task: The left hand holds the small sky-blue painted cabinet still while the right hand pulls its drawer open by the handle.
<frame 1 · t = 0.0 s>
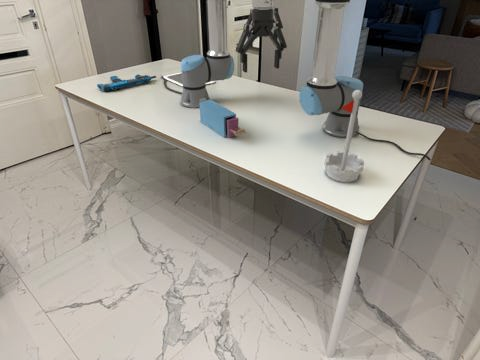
left hand: (260, 69, 131), 28 cm above the table, tool pointing down, fingers open, 13 cm apart
right hand: (263, 45, 167), 28 cm above the table, tool pointing down, fingers open, 13 cm apart
submachine gun: (126, 83, 208), on the table
cabinet: (217, 127, 153), on the table
flag stand: (341, 173, 120), on the table
drawer: (224, 122, 146), point 5 cm above the table, slide at 1.5 cm
tablet: (187, 80, 213), on the table
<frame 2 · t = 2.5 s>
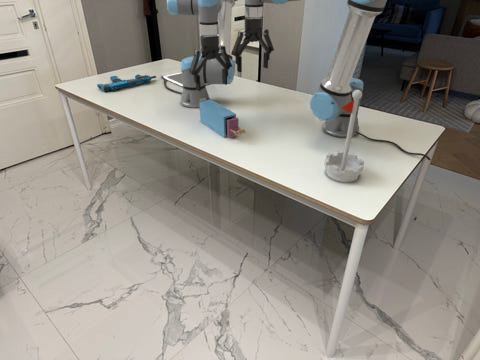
left hand: (211, 87, 148), 17 cm above the table, tool pointing down, fingers open, 13 cm apart
right hand: (252, 69, 152), 22 cm above the table, tool pointing down, fingers open, 13 cm apart
nothing on the table moved.
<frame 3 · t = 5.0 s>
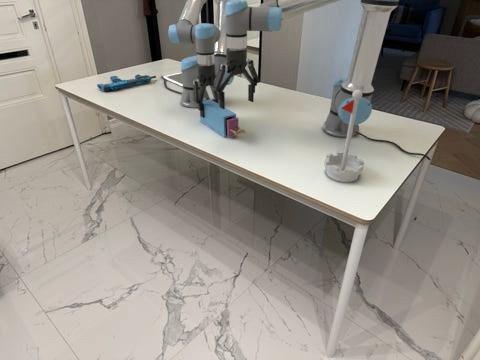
left hand: (209, 114, 156), 3 cm above the table, tool pointing down, fingers closed on cabinet, 6 cm apart
right hand: (236, 104, 134), 15 cm above the table, tool pointing down, fingers open, 13 cm apart
cabinet: (217, 127, 153), on the table, touching left hand
everything else where it was.
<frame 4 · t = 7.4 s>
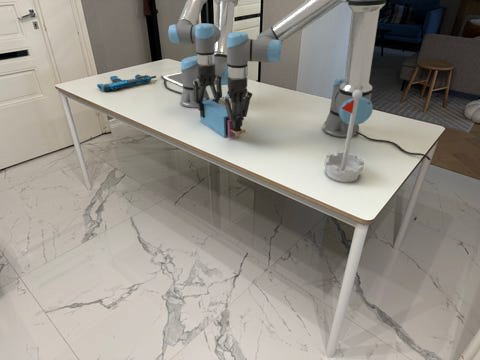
left hand: (209, 115, 156), 3 cm above the table, tool pointing down, fingers closed on cabinet, 6 cm apart
right hand: (237, 134, 140), 3 cm above the table, tool pointing down, fingers closed
cabinet: (217, 127, 153), on the table, touching left hand
drawer: (225, 122, 146), point 5 cm above the table, slide at 2.0 cm, touching right hand
everything else where it was.
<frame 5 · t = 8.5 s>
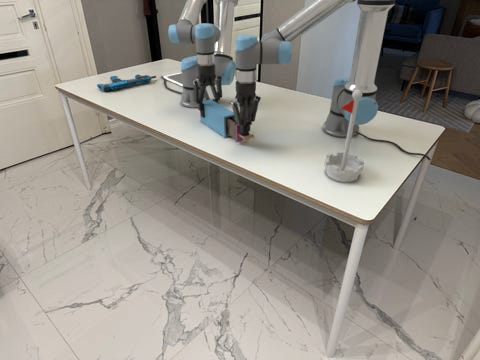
left hand: (209, 115, 156), 3 cm above the table, tool pointing down, fingers closed on cabinet, 6 cm apart
right hand: (245, 139, 136), 3 cm above the table, tool pointing down, fingers closed
cabinet: (217, 127, 153), on the table, touching left hand
drawer: (232, 126, 142), point 5 cm above the table, slide at 7.5 cm, touching right hand
everything else where it was.
when the left hand's fingers open (3 cm above the table, at t = 10.0 s): cabinet stays where it is, on the table.
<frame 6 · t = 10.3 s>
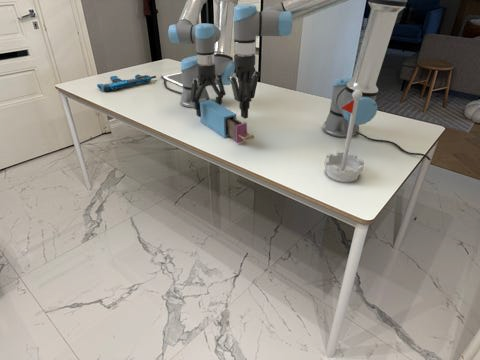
left hand: (208, 113, 156), 4 cm above the table, tool pointing down, fingers open, 10 cm apart
right hand: (244, 117, 132), 12 cm above the table, tool pointing down, fingers closed
cabinet: (217, 127, 153), on the table
drawer: (232, 127, 142), point 5 cm above the table, slide at 7.5 cm
everything else where it was.
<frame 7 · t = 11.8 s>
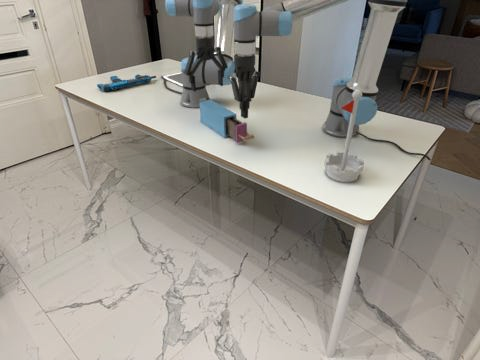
left hand: (207, 87, 150), 16 cm above the table, tool pointing down, fingers open, 13 cm apart
right hand: (244, 117, 132), 12 cm above the table, tool pointing down, fingers closed
nothing on the table moved.
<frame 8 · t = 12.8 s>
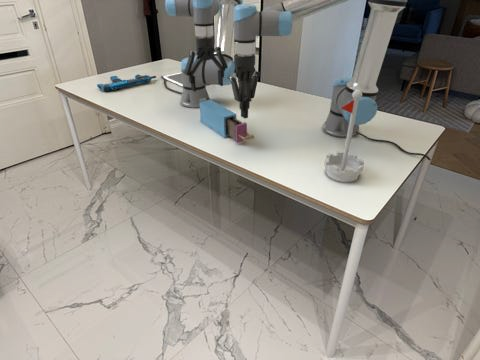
left hand: (207, 87, 150), 16 cm above the table, tool pointing down, fingers open, 13 cm apart
right hand: (244, 117, 132), 12 cm above the table, tool pointing down, fingers closed
nothing on the table moved.
at the end: drawer slide at 7.5 cm; cabinet tilted 0°; cabinet never tilted more than 2° during the clip; cabinet moved 0.2 cm from its start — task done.
